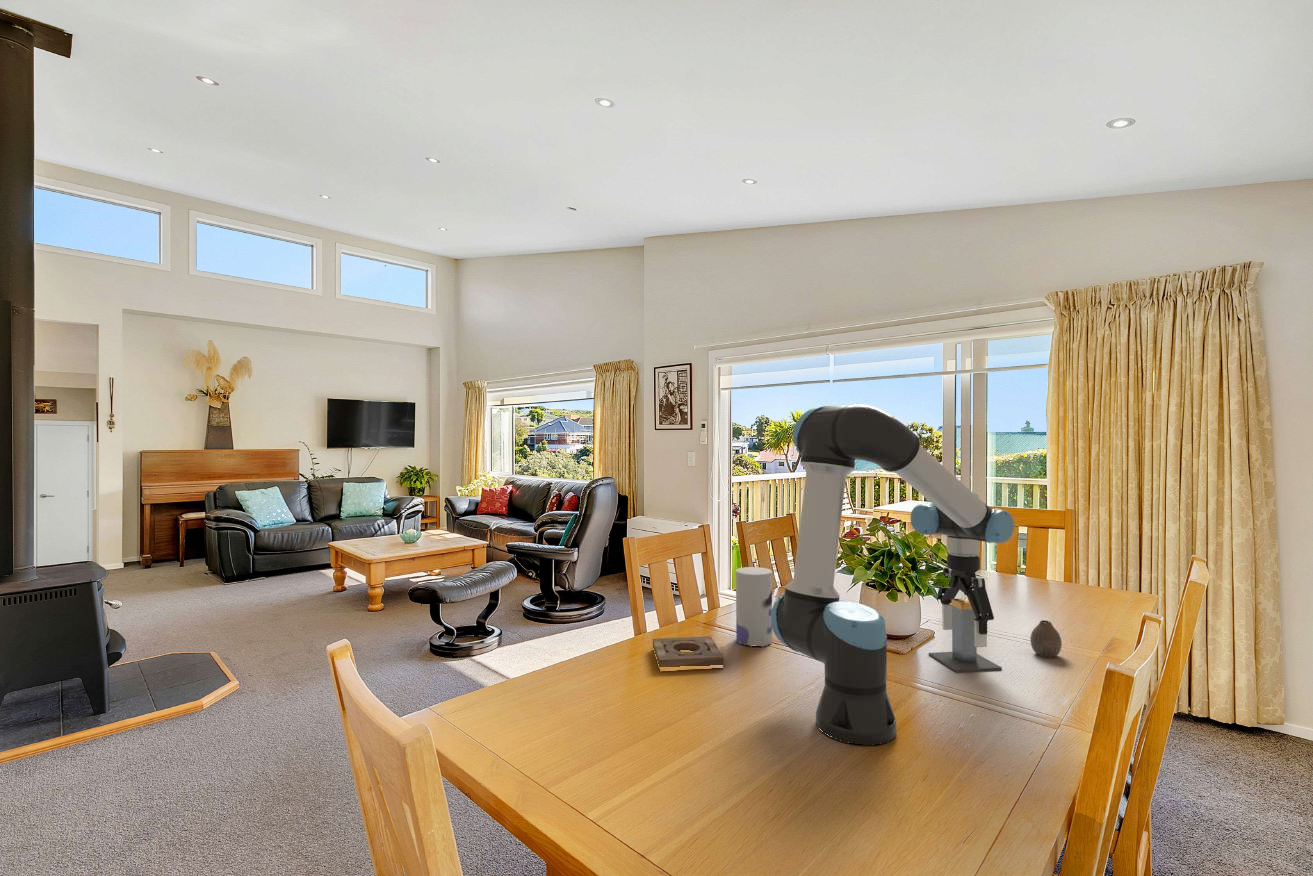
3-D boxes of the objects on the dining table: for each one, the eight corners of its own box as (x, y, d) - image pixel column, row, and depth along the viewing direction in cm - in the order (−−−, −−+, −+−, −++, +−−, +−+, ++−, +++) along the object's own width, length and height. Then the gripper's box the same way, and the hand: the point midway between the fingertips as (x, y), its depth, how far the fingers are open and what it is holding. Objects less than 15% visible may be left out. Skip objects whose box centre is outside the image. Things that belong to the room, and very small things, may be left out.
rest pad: (1001, 669, 153) (1001, 667, 153) (955, 672, 152) (955, 669, 152) (971, 653, 165) (971, 650, 165) (928, 655, 163) (928, 652, 163)
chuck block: (723, 668, 155) (723, 656, 155) (659, 672, 154) (659, 659, 154) (710, 647, 171) (710, 636, 171) (652, 649, 169) (652, 638, 169)
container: (775, 647, 171) (774, 574, 170) (738, 647, 171) (737, 574, 171) (769, 635, 181) (768, 566, 180) (734, 635, 181) (734, 566, 181)
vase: (1053, 650, 166) (1052, 617, 166) (1067, 660, 159) (1067, 625, 159) (1025, 650, 167) (1025, 617, 167) (1038, 659, 160) (1038, 625, 160)
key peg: (961, 663, 156) (961, 603, 156) (952, 657, 160) (951, 598, 160) (976, 662, 156) (976, 602, 156) (967, 656, 160) (966, 598, 160)
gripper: (1010, 563, 146) (1010, 654, 146) (948, 544, 171) (949, 622, 171) (980, 564, 145) (980, 655, 145) (922, 545, 170) (923, 623, 170)
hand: (963, 637), depth 158 cm, fingers open, 13 cm apart
